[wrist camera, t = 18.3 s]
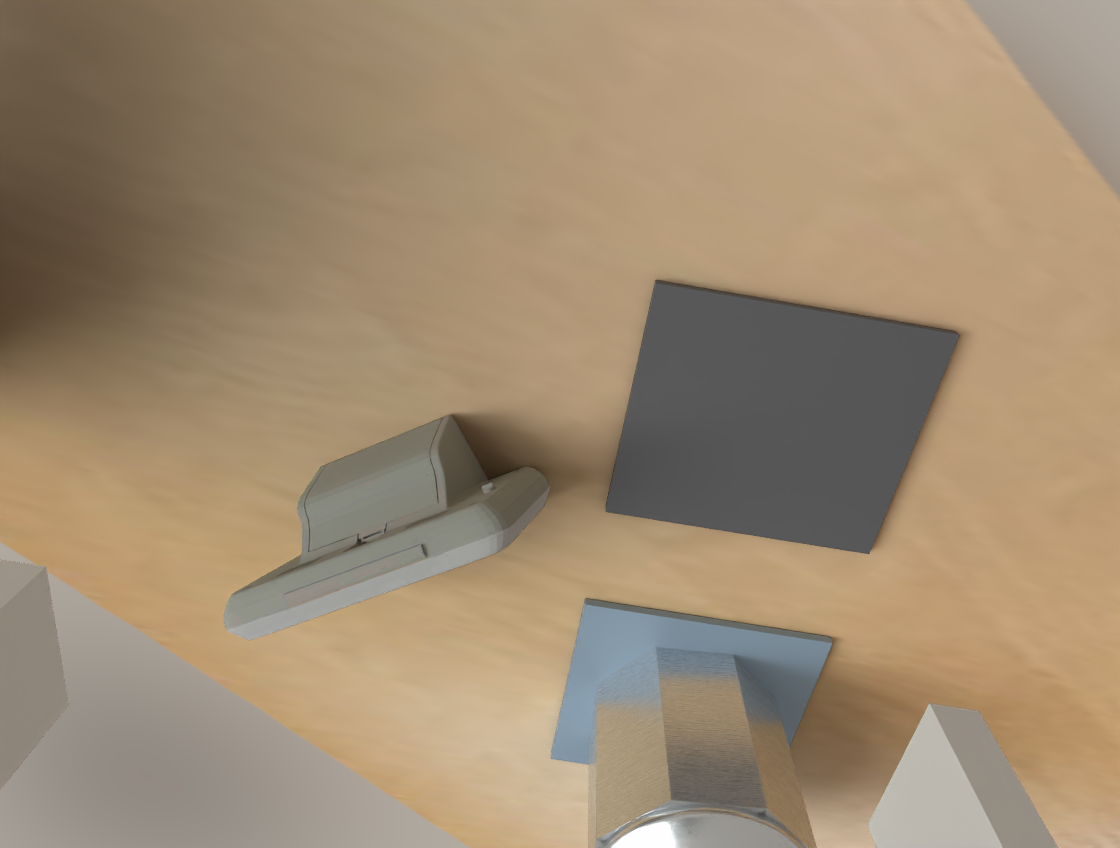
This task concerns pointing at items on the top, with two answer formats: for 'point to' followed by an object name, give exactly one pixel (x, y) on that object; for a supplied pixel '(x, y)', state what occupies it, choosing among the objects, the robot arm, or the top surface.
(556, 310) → the top surface
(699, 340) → the black mat
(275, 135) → the top surface
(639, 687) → the steel canister
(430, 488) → the digital clock
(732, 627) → the blue board
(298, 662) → the top surface
